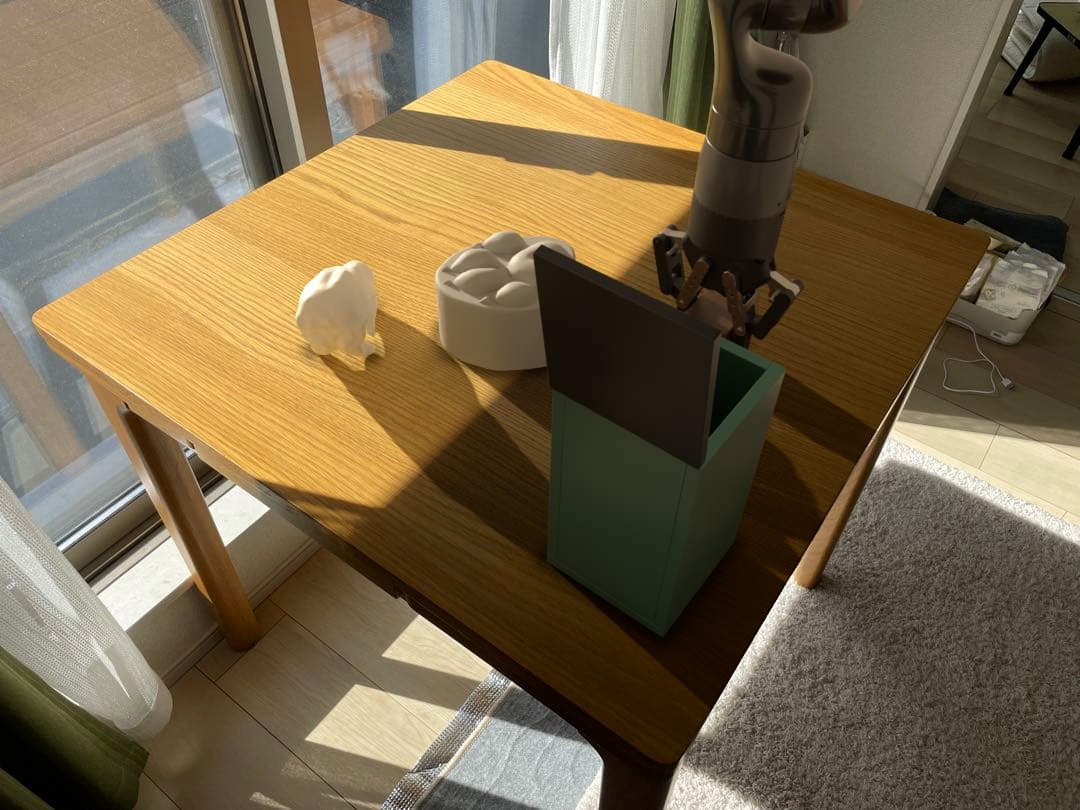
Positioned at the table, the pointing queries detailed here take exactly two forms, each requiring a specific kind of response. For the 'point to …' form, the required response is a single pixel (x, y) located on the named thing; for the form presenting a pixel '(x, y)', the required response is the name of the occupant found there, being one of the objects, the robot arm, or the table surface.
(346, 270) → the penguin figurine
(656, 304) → the box lid
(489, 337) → the lumpy-topped squat cylinder
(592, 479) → the green box
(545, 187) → the table surface
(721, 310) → the block
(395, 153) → the table surface
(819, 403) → the table surface
